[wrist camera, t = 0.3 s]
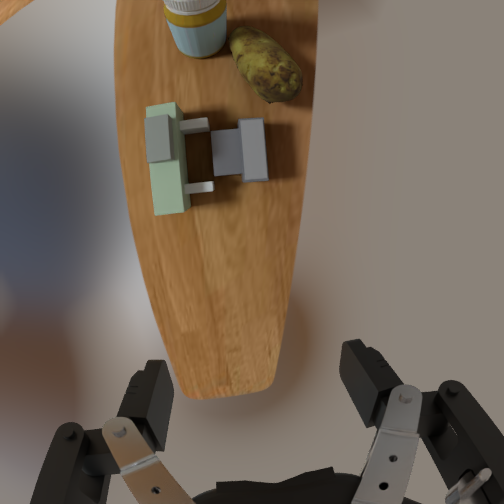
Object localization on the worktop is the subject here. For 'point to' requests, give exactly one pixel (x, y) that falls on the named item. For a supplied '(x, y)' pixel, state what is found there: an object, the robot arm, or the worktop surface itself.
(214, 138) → the grey stepped block
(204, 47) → the bottle
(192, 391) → the worktop surface
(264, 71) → the potato
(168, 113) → the green block cluster
